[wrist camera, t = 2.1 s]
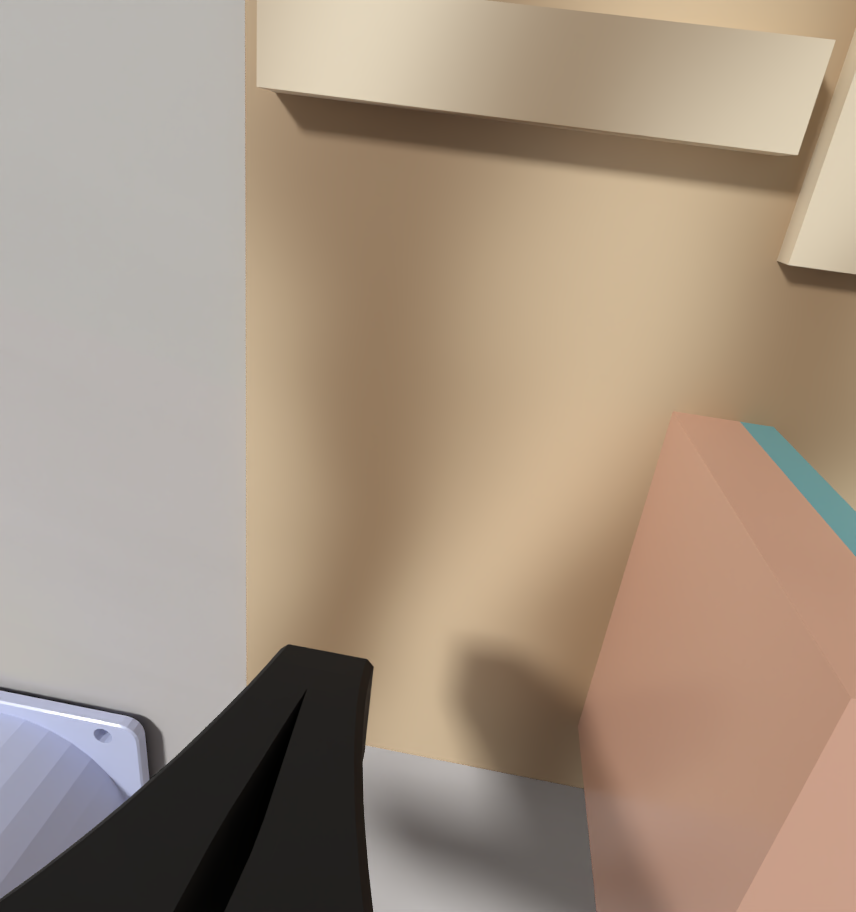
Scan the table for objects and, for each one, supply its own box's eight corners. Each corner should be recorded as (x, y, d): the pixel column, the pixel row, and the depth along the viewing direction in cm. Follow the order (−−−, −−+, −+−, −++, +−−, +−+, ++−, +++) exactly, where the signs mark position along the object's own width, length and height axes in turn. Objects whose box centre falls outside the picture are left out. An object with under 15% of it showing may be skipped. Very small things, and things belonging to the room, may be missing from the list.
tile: (577, 726, 15) (618, 1131, 9) (672, 411, 12) (851, 698, 5) (654, 740, 15) (752, 1161, 9) (773, 426, 12) (1078, 740, 5)
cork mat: (253, 706, 17) (246, 721, 16) (258, -197, 9) (244, -215, 9) (962, 846, 16) (975, 866, 15) (1637, -69, 8) (1703, -82, 8)
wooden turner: (273, 190, 11) (256, 192, 10) (278, -138, 9) (257, -164, 8) (1168, 315, 10) (1218, 325, 9) (1378, -28, 8) (1461, -47, 7)
